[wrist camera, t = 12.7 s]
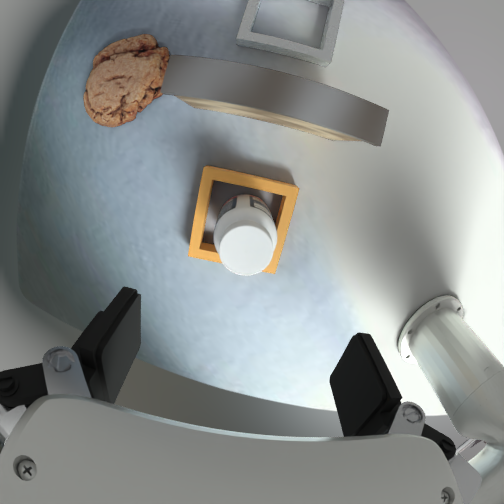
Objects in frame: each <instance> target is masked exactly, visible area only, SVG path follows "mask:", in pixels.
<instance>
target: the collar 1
mask: <svg viewBox="0 0 504 504" xmlns="http://www.w3.org/2000/svg"><path fill="white" fill-rule="evenodd" d="M308 1H311V2H314V3H318V4H321V5H324V6H327V7H329V10H328V15H327V19H326V23H325V28H324V32H323V36H322V41H321V45H320V49H317V48H314V47H311V46H307V45H304V44H300V43H297V42H293V41H289V40H286V39H282V38H277V37H273V36H269V35H264V34H259V33H254V32H251V31H252V28H253V25H254V21H255V18H256V15H257V12H258V9H259V6H260V3H261V0H248V3H247V6H246V9H245V12H244V15H243V18H242V21H241V24H240V28H239V31H238V34H237V37H236V41H237V45H240V46H245V47H251V48H256V49H261V50H265V51H270V52H274V53H278V54H282V55H286V56H290V57H294V58H297V59H301V60H304V61H308V62H311V63H314V64H317V65H320V66H324V67H326V66H327V65H328V64H330V63H331V60H332V56H333V51H334V47H335V42H336V38H337V33H338V28H339V23H340V19H341V14H342V9H343V4H344V0H308Z"/></svg>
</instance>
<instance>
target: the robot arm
mask: <svg viewBox="0 0 504 504" xmlns="http://www.w3.org/2000/svg"><path fill="white" fill-rule="evenodd" d="M140 344H141V295H140V294H137V290H136V289H132V288H128V287H123V288H122V289H121V290H120V292H119V293H118V294H117V295H116V297H115V298H114V299H113V301H112V302H111V303H110V304H109V306H108V307H107V308H106V310H105V311H104V312H103V311H99V312H98V313H97V315H96V316H95V317H94V318H93V320H92V321H91V322H90V324H89V325H88V326H87V328H86V329H85V330H84V332H83V333H82V334H81V336H80V337H79V338H78V340H77V341H76V342H75V344H74V345H73V346H72V348H71V349H70V348H68V347H63V346H59V347H58V346H57V347H54V348H51V349H50V350H48V351H47V352H46V353H45V354H44V356H43V362H42V363H40V364H35V365H30V366H25V367H20V368H16V369H10V370H5V371H2V372H0V504H504V367H503V365H502V364H501V363H500V362H499V360H498V359H497V358H496V357H495V355H494V354H493V353H492V352H491V351H490V350H489V348H488V347H487V346H486V345H485V344H484V343H483V341H482V340H481V339H480V338H479V337H478V336H477V335H476V333H475V332H474V331H473V330H472V329H471V328H470V327H469V326H468V325H467V324H466V322H465V321H464V320H463V307H462V305H461V303H460V302H459V301H458V300H457V299H456V298H455V297H453V296H448V295H447V296H440V297H437V298H435V299H433V300H431V301H429V302H428V303H426V304H425V305H423V306H422V307H421V308H420V309H419V310H417V311H416V313H415V314H414V315H413V316H412V317H411V318H410V319H409V321H408V322H407V324H406V325H405V327H404V328H403V330H402V333H401V335H400V338H399V342H398V349H399V353H400V355H401V357H402V358H403V359H404V360H405V361H406V362H409V363H418V365H419V367H420V368H421V370H422V371H423V373H424V375H425V376H426V378H427V380H428V381H429V383H430V385H431V386H432V388H433V390H434V392H435V393H436V395H437V397H438V399H439V400H440V402H441V404H442V406H443V407H444V409H445V411H446V413H447V415H448V416H449V418H450V420H451V422H452V424H453V425H454V427H455V429H456V430H457V432H458V433H459V434H460V435H462V436H463V437H466V438H469V439H476V440H483V441H486V442H487V445H486V446H485V448H484V449H483V450H481V451H480V452H479V453H478V454H477V455H476V456H475V457H473V458H472V459H471V460H469V461H468V462H467V461H466V460H465V459H464V458H463V457H462V456H461V455H460V454H459V453H458V454H455V452H456V448H455V445H454V443H453V441H452V440H451V439H450V438H449V437H447V436H445V435H444V434H442V433H440V432H438V431H437V430H435V429H433V428H432V427H430V426H428V425H426V424H425V413H424V411H423V410H422V408H421V407H420V406H418V405H417V404H415V403H413V402H404V403H402V404H401V402H400V400H401V399H402V396H401V394H400V392H399V390H398V388H397V386H396V383H395V381H394V379H393V377H392V375H391V373H390V371H389V369H388V367H387V365H386V363H385V361H384V359H383V357H382V356H381V354H380V352H379V350H378V348H377V346H376V344H375V342H374V340H373V338H372V337H371V335H370V334H366V333H357V334H356V335H354V336H353V337H352V338H351V340H350V342H349V344H348V346H347V348H346V349H345V351H344V353H343V355H342V357H341V359H340V360H339V362H338V364H337V366H336V367H335V369H334V371H333V372H332V374H331V376H330V385H331V389H332V393H333V396H334V400H335V404H336V408H337V412H338V415H339V419H340V423H341V427H342V431H343V435H344V437H286V436H270V435H259V434H249V433H241V432H233V431H225V430H220V429H213V428H208V427H202V426H197V425H192V424H186V423H182V422H178V421H173V420H169V419H165V418H161V417H157V416H153V415H149V414H146V413H142V412H139V411H135V410H132V409H129V408H125V407H122V406H118V405H115V404H114V403H115V400H116V398H117V396H118V394H119V391H120V389H121V387H122V385H123V383H124V380H125V378H126V376H127V374H128V372H129V369H130V367H131V365H132V363H133V361H134V359H135V357H136V355H137V353H138V351H139V348H140ZM7 437H8V439H7V441H6V443H5V440H6V438H7ZM4 443H5V445H4Z"/></svg>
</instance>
